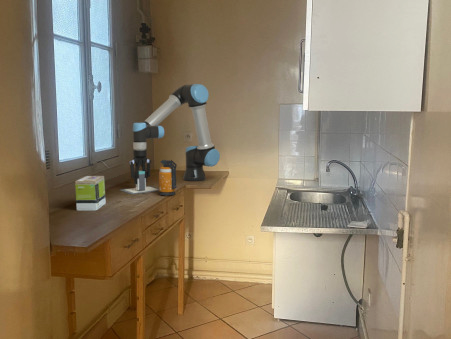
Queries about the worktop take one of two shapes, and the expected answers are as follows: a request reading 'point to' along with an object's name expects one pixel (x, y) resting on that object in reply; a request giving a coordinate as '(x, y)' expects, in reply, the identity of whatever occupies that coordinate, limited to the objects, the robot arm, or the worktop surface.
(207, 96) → the robot arm
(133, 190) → the paper
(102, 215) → the worktop surface
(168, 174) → the canister
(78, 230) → the worktop surface
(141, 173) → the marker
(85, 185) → the tea box
